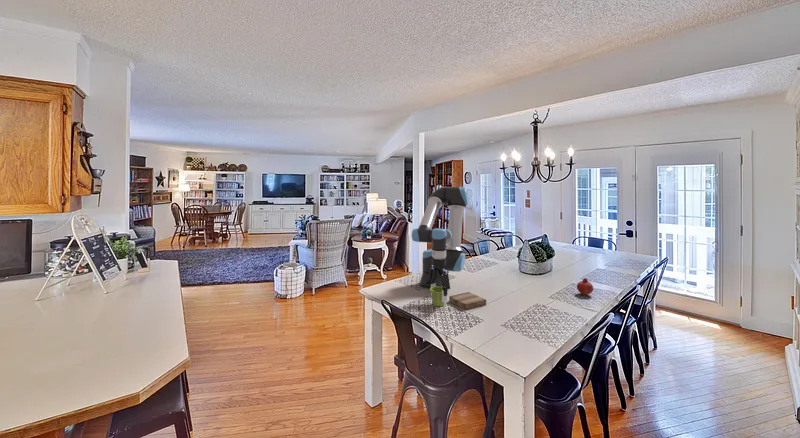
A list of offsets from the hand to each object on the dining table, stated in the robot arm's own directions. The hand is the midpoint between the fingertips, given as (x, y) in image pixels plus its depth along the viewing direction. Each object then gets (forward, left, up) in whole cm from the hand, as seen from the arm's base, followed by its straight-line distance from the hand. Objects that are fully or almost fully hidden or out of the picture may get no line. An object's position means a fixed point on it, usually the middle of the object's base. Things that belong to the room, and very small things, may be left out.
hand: (438, 298), depth 169 cm
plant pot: (0, 0, -4) cm, 4 cm away
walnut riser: (+6, +15, -4) cm, 17 cm away
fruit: (+30, +83, -4) cm, 88 cm away
